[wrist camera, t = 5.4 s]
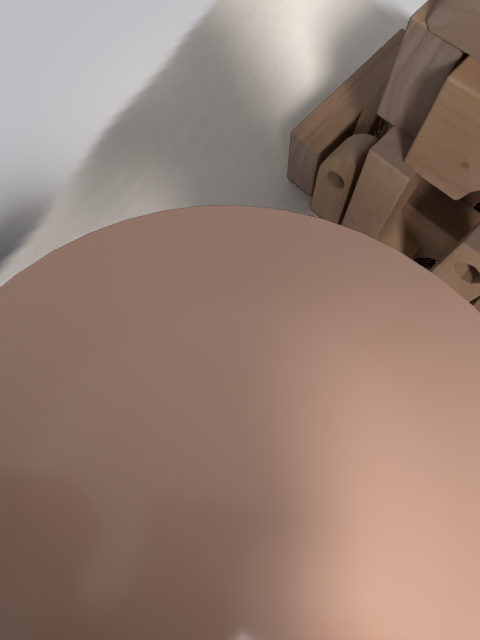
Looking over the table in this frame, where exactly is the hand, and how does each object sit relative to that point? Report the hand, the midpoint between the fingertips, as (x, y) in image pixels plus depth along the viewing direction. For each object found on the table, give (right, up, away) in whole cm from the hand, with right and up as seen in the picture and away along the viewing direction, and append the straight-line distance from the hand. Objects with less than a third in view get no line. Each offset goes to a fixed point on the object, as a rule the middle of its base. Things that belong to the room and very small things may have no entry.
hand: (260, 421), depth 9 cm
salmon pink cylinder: (0, -3, +6) cm, 7 cm away
